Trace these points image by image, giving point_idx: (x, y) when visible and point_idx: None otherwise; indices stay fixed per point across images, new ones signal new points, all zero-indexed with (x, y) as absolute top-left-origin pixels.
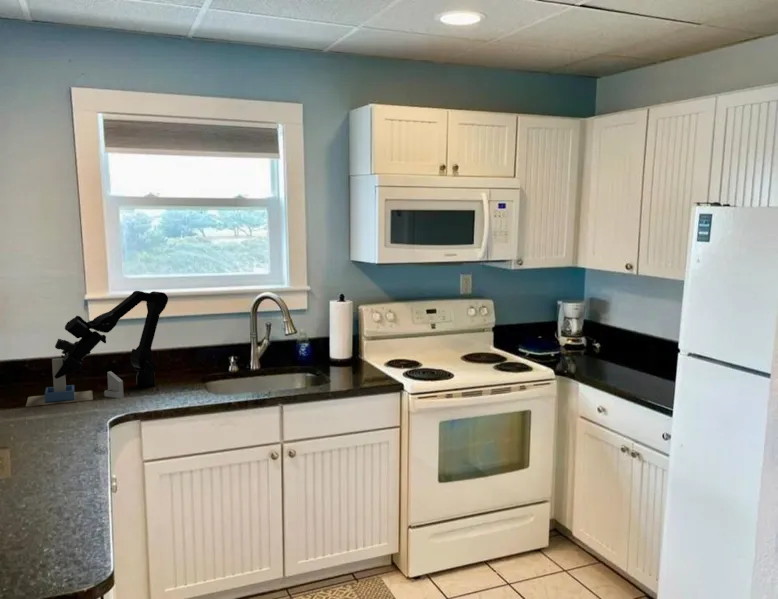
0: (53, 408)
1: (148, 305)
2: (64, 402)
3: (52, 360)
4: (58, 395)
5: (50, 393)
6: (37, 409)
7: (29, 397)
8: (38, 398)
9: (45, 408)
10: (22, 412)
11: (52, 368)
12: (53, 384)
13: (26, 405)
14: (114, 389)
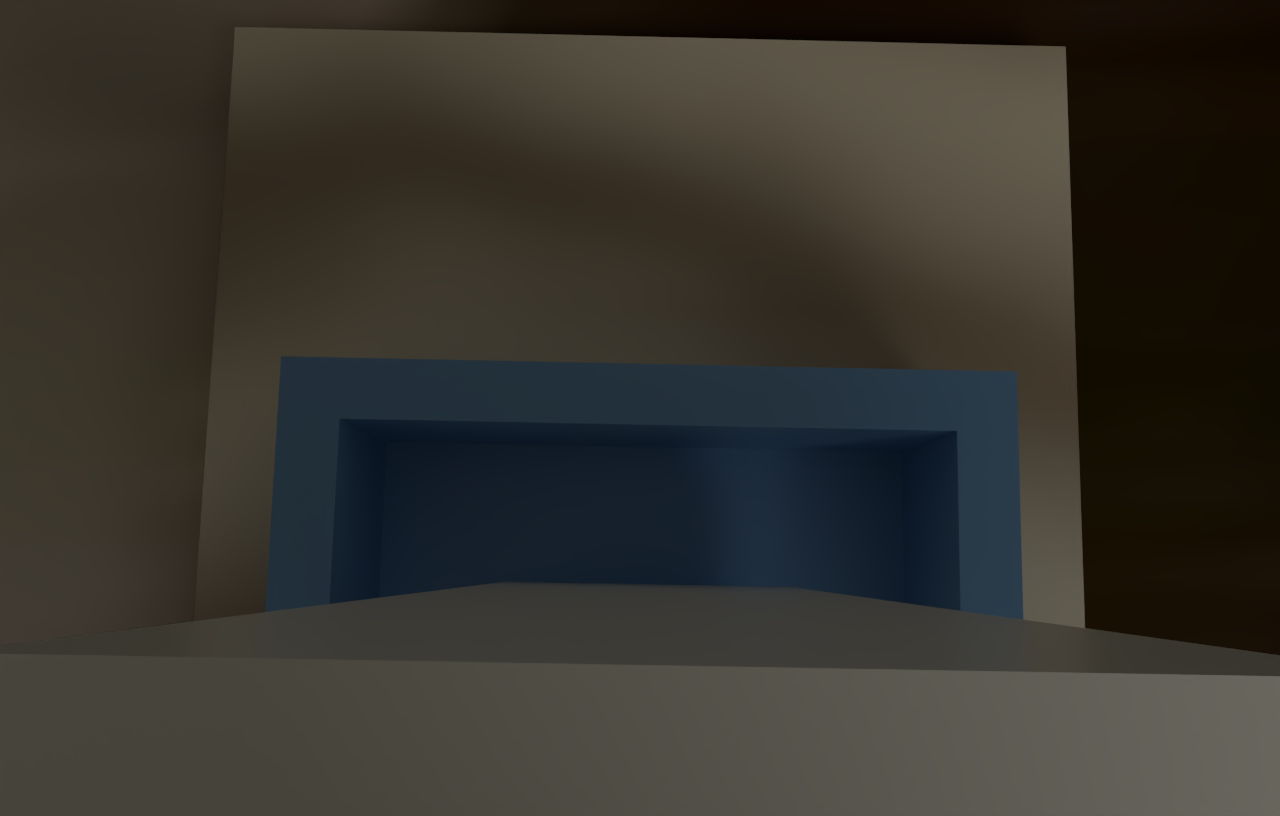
0: (52, 561)
1: None
2: None
3: (314, 718)
4: None
5: (272, 498)
6: (134, 261)
7: (997, 70)
8: (822, 247)
9: (135, 407)
10: (46, 7)
11: (268, 615)
12: (465, 588)
13: (320, 39)
14: None
